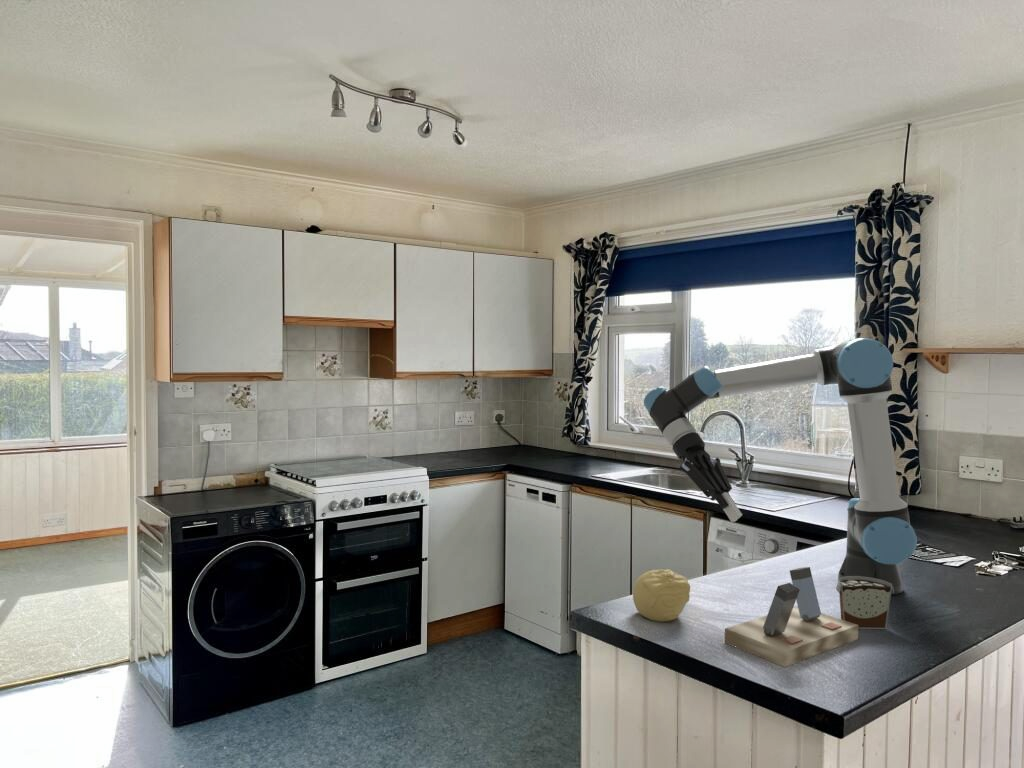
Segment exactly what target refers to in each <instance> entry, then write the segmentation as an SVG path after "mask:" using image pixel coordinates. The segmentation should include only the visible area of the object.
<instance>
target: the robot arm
mask: <svg viewBox="0 0 1024 768" xmlns="http://www.w3.org/2000/svg"><path fill="white" fill-rule="evenodd" d="M893 368H894V359H893V355H892V353H891V352H890V350H889V348H888V347H887V346H886V345H885V344H883V343H882V342H881V341H878V340H876V339H874V338H869V337H857V338H854V339H848V340H846V341H843V342H840V343H837V344H833V345H830V346H828V347H822V348H818V349H815V350H813V352H812V353H811V354H805V355H798V356H794V357H793V356H791V357H787V358H782V359H775V360H769V361H762V362H758V363H751V364H745V365H739V366H734V367H726V368H721V369H715V370H712V369H711V368H710V367H709V366H707V365H704V366H702V367H701V368H699V369H697V370H695V371H694V372H693V373H691V374H689V375H688V376H686V378H684V379H683V380H682V381H681V382H679V383H678V384H677V385H675V386H674V387H672V388H670V389H668V388H667V387H665V386H658V387H657V388H653V389H652V390H650V391H649V392H648V393H647V394H646V395H645V396H644V399H643V406H644V407H645V410H646V411H647V412H648V415H649V416H650V419H652V422H654V423H655V425H656V427H657V428H658V430H660V432H661V434H662V435H663V437H664V439H665V440H666V442H667V443H668V445H669V446H670V447H671V448H672V451H673V453H674V454H675V456H676V457H677V458H678V460H679V461H682V462H683V463H682V464H681V465H680V467H679V469H680V470H681V471H682V472H684V473H685V475H687V476H688V477H689V479H691V480H692V482H694V484H695V485H696V486H697V487H698V488H699V490H700V491H701V492H702V493H703V495H705V497H707V498H710V497H711V498H710V500H711V501H716V502H717V504H718V505H719V507H720V508H721V509H722V511H723V512H724V513H725V514H726V516H727V518H728V519H729V520H730V523H733V522H734V523H735V522H736V521H738V520H739V519H740V518H741V517H742V516H743V513H742V512H741V510H740V509H739V507H738V506H737V505H736V502H735V501H734V499H733V498H732V496H731V495H730V492H731V491H732V489H733V487H732V485H731V483H730V481H729V479H728V477H727V475H726V472H725V471H724V469H723V467H722V464H721V463H722V462H721V459H720V458H719V457H716V458H715V459H714V458H712V457H711V455H710V454H709V453H708V452H707V451H706V450H705V449H706V448H705V447H706V446H705V445H706V444H705V441H704V440H703V438H702V437H701V436H700V434H699V432H697V430H696V428H695V426H694V425H693V424H692V422H691V421H690V420H689V418H688V417H687V415H686V414H689V413H690V412H691V411H693V410H694V409H695V408H697V407H698V406H700V405H701V404H703V403H705V402H706V401H708V400H712V399H713V400H714V399H718V398H724V397H725V398H726V397H730V396H737V395H744V394H750V393H757V392H765V391H769V390H777V389H783V388H789V387H795V386H796V387H797V386H803V385H809V384H815V383H817V384H818V385H820V386H827V385H837V388H838V394H839V397H840V398H841V399H842V400H844V401H845V402H846V403H847V410H848V412H847V413H848V417H849V425H850V433H851V441H852V449H853V454H854V463H855V470H856V479H857V485H858V492H859V494H858V495H859V497H853V498H851V499H850V500H848V504H847V505H848V506H847V529H846V530H847V531H846V550H845V551H846V554H845V557H844V559H843V561H842V563H841V566H840V569H839V571H838V574H837V582H838V581H839V579H840V578H842V577H846V576H862V577H870V578H875V579H880V580H883V581H886V582H889V583H891V584H892V587H893V588H894V593H892V592H891V596H896V595H900V594H901V593H903V585H904V584H903V580H902V576H901V573H900V570H899V566H898V564H901V563H904V562H906V561H907V560H909V558H911V557H912V555H914V552H915V551H916V549H917V544H918V538H917V533H916V532H915V529H914V528H913V526H912V525H911V522H910V521H911V520H910V513H909V507H908V506H909V505H908V503H907V502H906V501H904V500H903V499H902V498H901V497H900V493H899V492H900V491H899V485H898V477H897V469H896V462H895V456H894V455H895V454H894V447H893V439H892V433H891V426H890V418H889V410H888V401H887V399H888V397H889V396H890V395H891V393H892V392H893V387H892V377H891V375H892V373H893V370H894V369H893ZM899 593H900V594H899ZM895 594H896V595H895Z"/></svg>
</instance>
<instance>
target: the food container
mask: <svg viewBox="0 0 1024 768" xmlns="http://www.w3.org/2000/svg"><path fill="white" fill-rule="evenodd" d="M835 589H836V592H838V593H839V606H840V608H839V609H840V619H842V620H845V621H848V622H851V623H854V624H857V625H859V629H860V630H866V629H867V630H872V629H873V630H886V629H887V624H888V617H889V612H890V611H889V610H890V603H891V597H892V595H891V592H892V593H894V588H893V587H892V584H891V583H889V582H886V581H883V580H880V579H875V578H870V577H862V576H846V577H842V578H840V579H839V581H838V580H837V583H836V587H835ZM859 629H858V630H859Z"/></svg>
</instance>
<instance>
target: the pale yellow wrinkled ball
mask: <svg viewBox="0 0 1024 768" xmlns="http://www.w3.org/2000/svg"><path fill="white" fill-rule="evenodd" d="M690 592H691V585H690V583H689V580H688V579H687V578H686V577H685V576H684V575H680V574H679V573H677V572H674V571H673V570H671V569H669V568H667V569H653V570H649V571H646V572H644V573H643V574H641V575H640V576H639V577H638V578H637V579H636V581H635V583H634V586H633V590H632V600H633V604H634V606H635V608H636V611H637V612H638V613H639V614H640V615H641V616H643V617H645V618H647V619H649V620H652V621H655V622H671V621H674V620H676V619H677V618H678V617H679V616H680V615H681V613H682V612H683V611H684V608H685V607H686V605H687V603H688V602H689V601H690Z"/></svg>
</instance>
